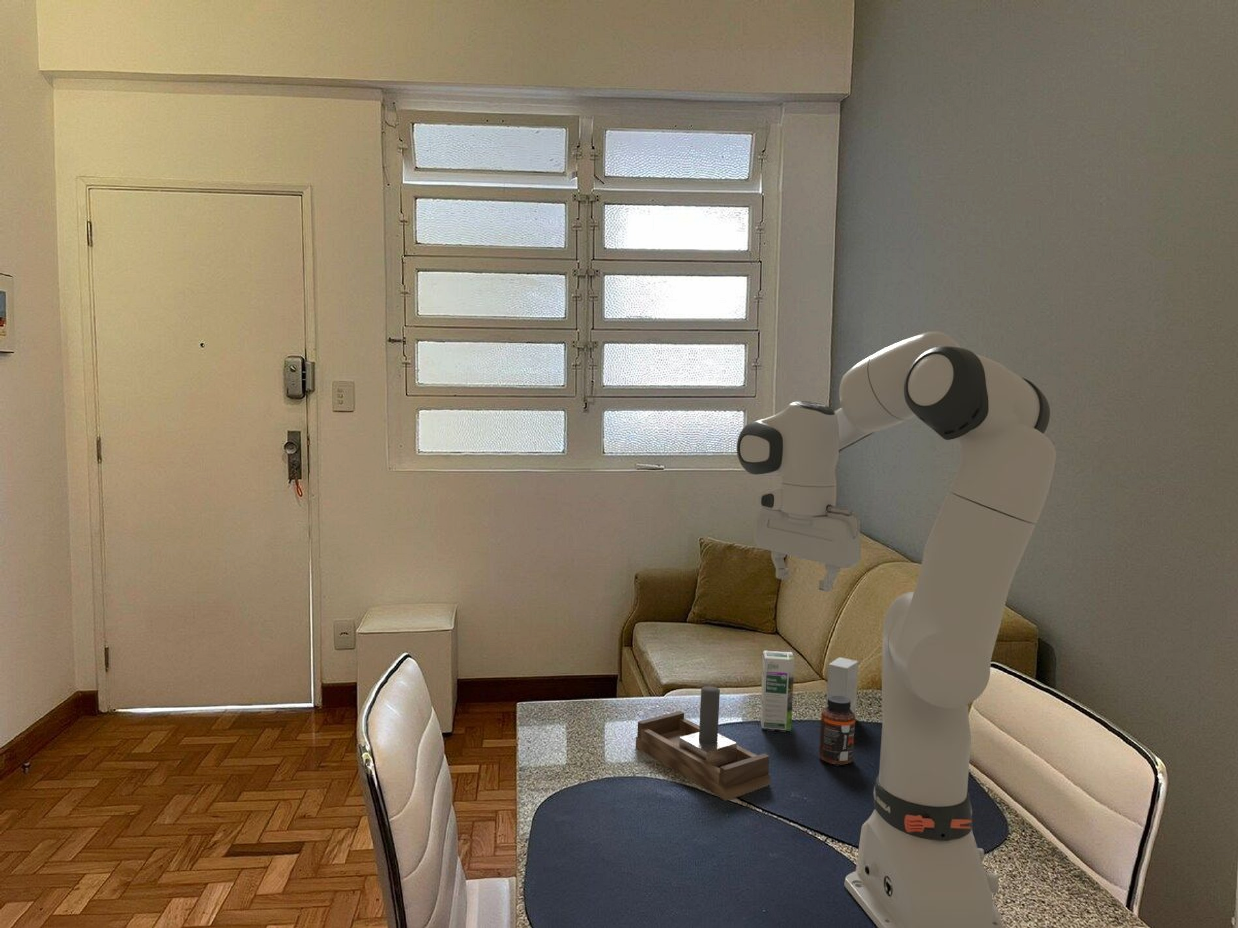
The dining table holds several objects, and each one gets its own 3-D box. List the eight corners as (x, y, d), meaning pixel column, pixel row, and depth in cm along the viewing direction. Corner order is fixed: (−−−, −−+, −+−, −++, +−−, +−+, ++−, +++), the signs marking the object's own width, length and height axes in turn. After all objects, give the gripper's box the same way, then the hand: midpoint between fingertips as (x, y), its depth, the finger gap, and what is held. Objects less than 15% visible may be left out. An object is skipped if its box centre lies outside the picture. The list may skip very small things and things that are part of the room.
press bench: (770, 785, 144) (771, 756, 143) (724, 800, 138) (726, 770, 137) (678, 735, 163) (679, 709, 163) (635, 747, 157) (636, 720, 157)
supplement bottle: (853, 768, 151) (857, 706, 150) (819, 764, 152) (822, 702, 151) (851, 754, 157) (855, 694, 156) (818, 751, 158) (821, 691, 157)
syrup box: (761, 730, 167) (765, 657, 166) (759, 718, 173) (763, 648, 172) (791, 732, 166) (795, 659, 165) (788, 721, 172) (792, 650, 171)
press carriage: (736, 759, 148) (739, 691, 147) (705, 769, 144) (708, 699, 143) (708, 745, 154) (711, 679, 152) (678, 753, 149) (681, 686, 148)
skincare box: (835, 712, 178) (839, 656, 176) (855, 718, 175) (859, 660, 174) (824, 721, 173) (827, 663, 172) (844, 727, 170) (848, 668, 169)
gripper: (872, 509, 134) (867, 596, 135) (776, 493, 150) (772, 570, 152) (846, 511, 130) (840, 600, 131) (750, 494, 147) (746, 574, 148)
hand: (803, 584), depth 142 cm, fingers open, 8 cm apart
